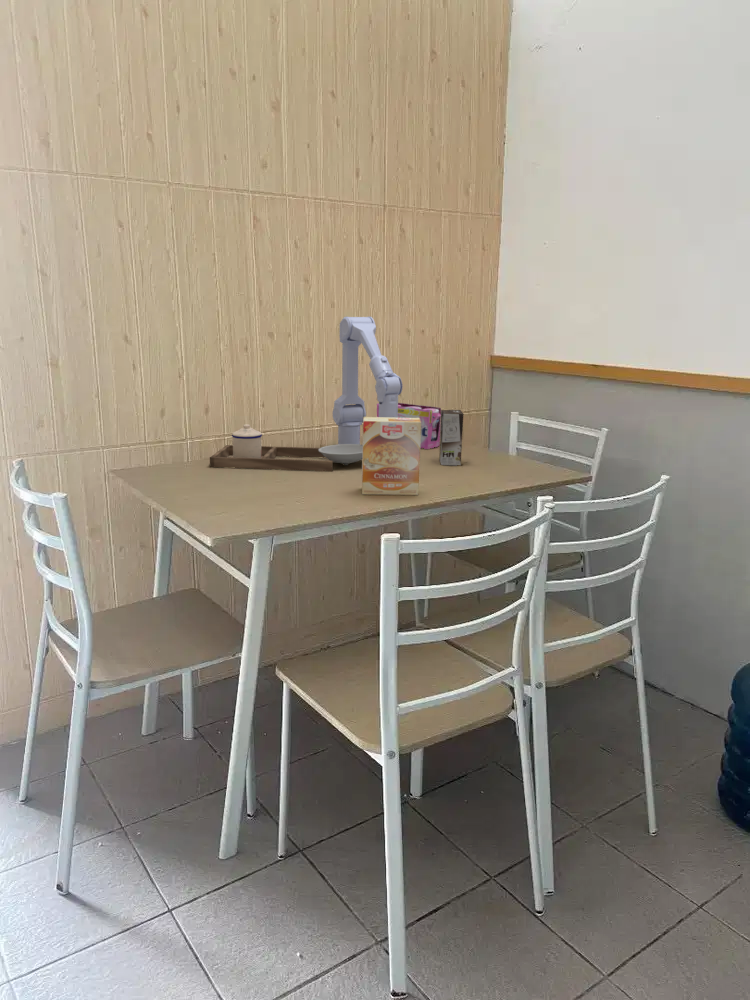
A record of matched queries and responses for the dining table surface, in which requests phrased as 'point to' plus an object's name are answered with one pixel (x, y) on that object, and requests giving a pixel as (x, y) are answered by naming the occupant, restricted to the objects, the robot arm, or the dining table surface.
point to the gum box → (423, 422)
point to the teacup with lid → (247, 443)
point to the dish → (343, 453)
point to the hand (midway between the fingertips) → (387, 461)
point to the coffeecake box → (391, 455)
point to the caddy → (273, 459)
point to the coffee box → (451, 437)
